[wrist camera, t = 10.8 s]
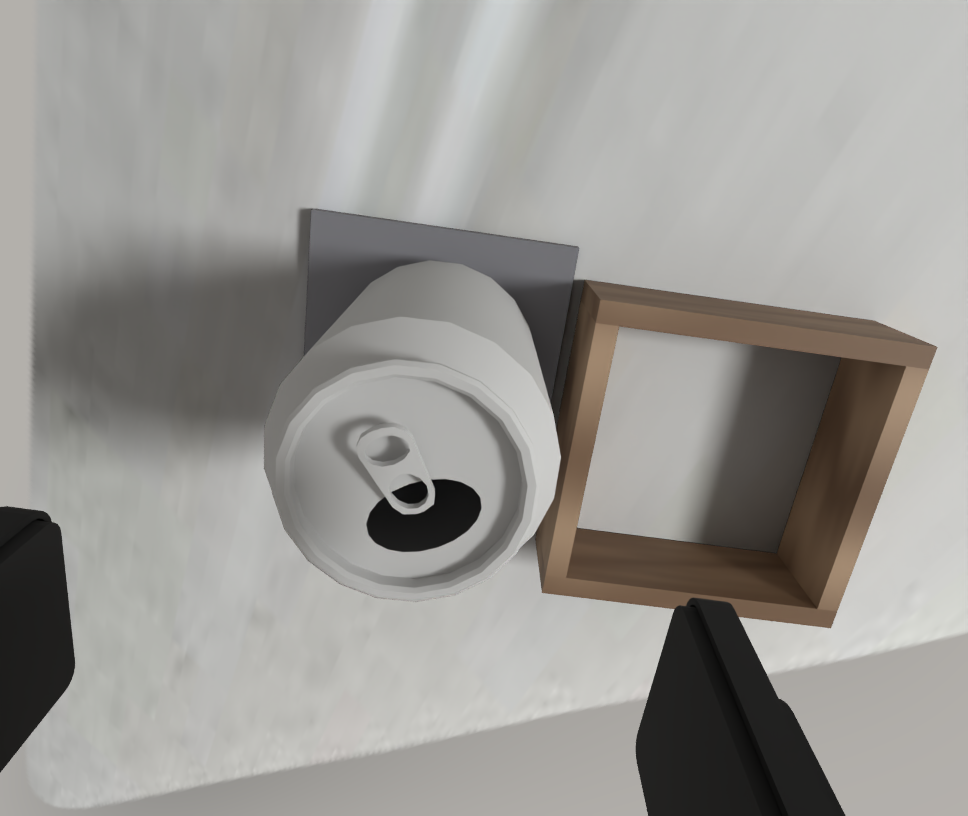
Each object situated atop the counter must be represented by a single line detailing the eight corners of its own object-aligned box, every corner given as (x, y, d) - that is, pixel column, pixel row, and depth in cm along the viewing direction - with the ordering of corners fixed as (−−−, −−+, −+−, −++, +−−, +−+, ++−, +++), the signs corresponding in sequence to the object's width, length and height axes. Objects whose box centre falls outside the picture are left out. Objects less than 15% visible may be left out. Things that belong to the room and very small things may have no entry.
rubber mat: (314, 208, 25) (311, 209, 25) (577, 246, 26) (579, 248, 25) (301, 451, 29) (299, 456, 28) (534, 481, 29) (535, 486, 29)
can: (387, 464, 28) (324, 665, 17) (310, 297, 26) (179, 402, 15) (557, 406, 28) (609, 577, 16) (494, 227, 25) (503, 282, 14)
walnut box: (584, 279, 26) (600, 299, 23) (874, 320, 27) (937, 347, 23) (535, 539, 30) (542, 592, 26) (789, 570, 31) (830, 628, 27)
